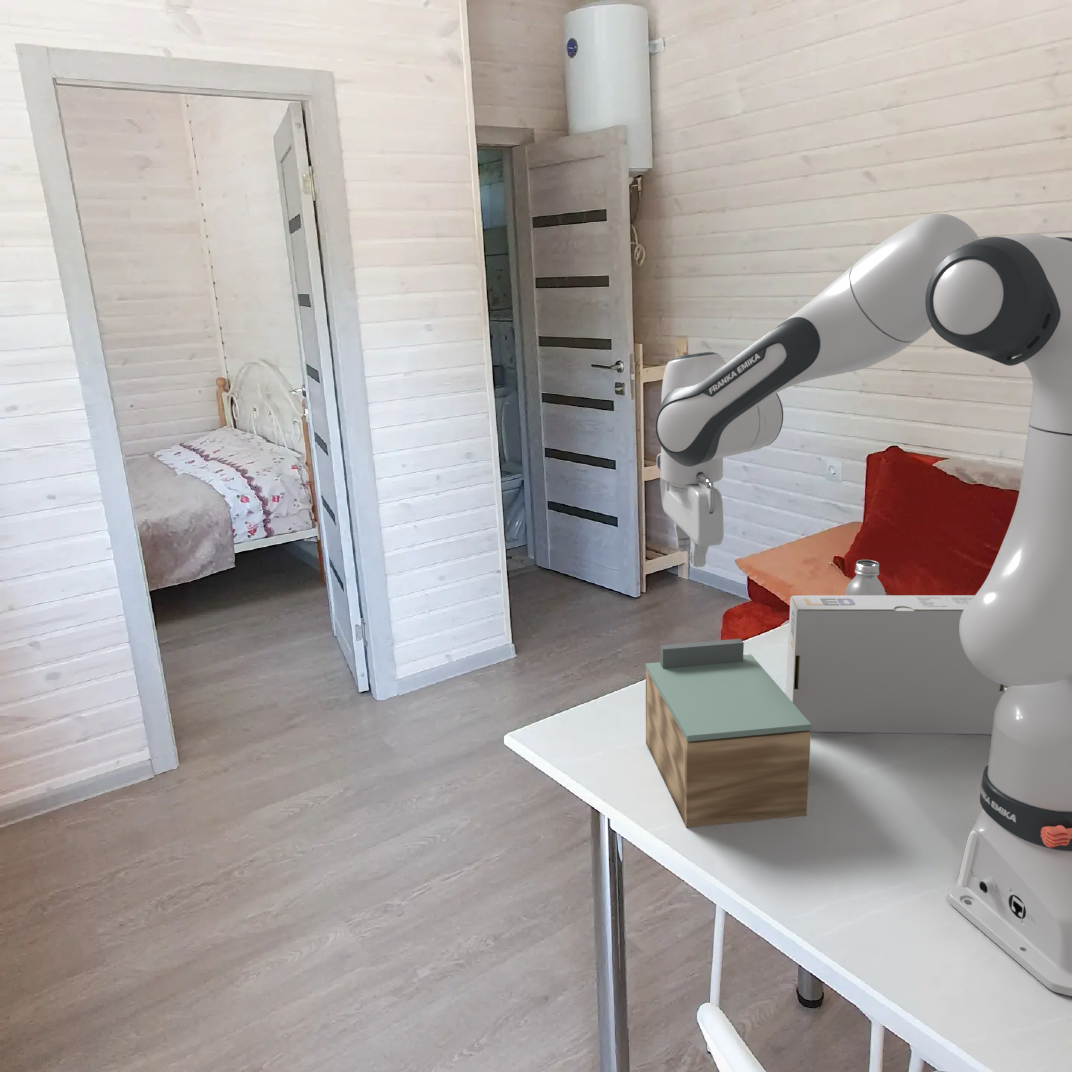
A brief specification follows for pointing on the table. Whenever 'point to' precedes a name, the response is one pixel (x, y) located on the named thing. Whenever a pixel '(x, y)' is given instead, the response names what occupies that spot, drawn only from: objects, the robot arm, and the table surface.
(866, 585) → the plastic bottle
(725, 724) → the lid
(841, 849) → the table surface
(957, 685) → the packaging
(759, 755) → the wooden box
